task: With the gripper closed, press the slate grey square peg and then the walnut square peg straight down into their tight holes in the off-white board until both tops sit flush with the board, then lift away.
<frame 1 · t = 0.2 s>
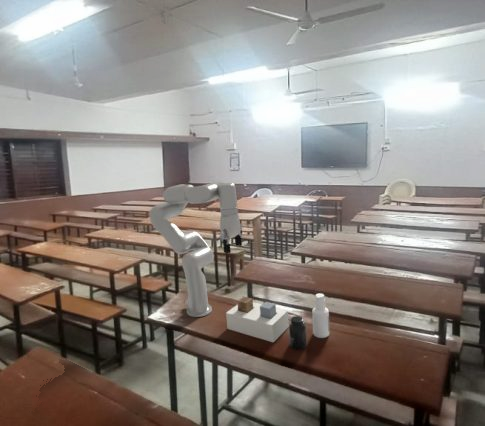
hand: (233, 248, 165), 36 cm above the table, tool pointing down, fingers open, 9 cm apart
peg board: (258, 327, 167), on the table
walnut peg: (245, 306, 169), point 9 cm above the table, slide at 4.5 cm
spray bottle: (321, 334, 158), on the table
slate peg: (268, 311, 162), point 9 cm above the table, slide at 4.5 cm
supplement bottle: (298, 345, 152), on the table
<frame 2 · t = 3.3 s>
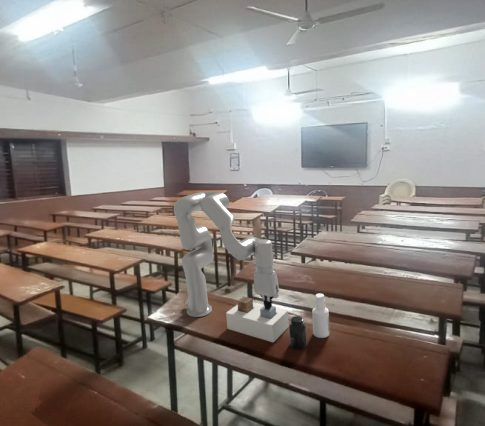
hand: (268, 308, 161), 11 cm above the table, tool pointing down, fingers closed
slate peg: (268, 314, 162), point 8 cm above the table, slide at 3.1 cm, touching gripper
everything else where it was.
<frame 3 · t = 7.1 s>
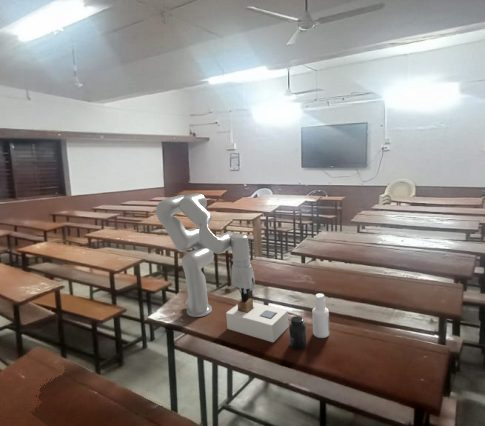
hand: (245, 300, 168), 12 cm above the table, tool pointing down, fingers closed
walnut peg: (245, 306, 169), point 9 cm above the table, slide at 4.3 cm, touching gripper
slate peg: (268, 320, 163), point 5 cm above the table, slide at 0.3 cm
everything else where it was.
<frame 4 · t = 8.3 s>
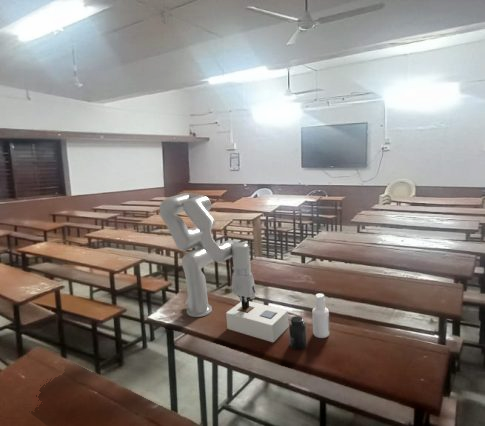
hand: (245, 308, 169), 8 cm above the table, tool pointing down, fingers closed
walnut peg: (246, 314, 169), point 5 cm above the table, slide at 0.3 cm, touching gripper
everything else where it was.
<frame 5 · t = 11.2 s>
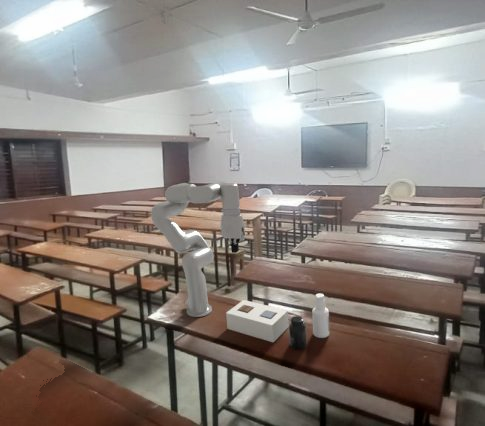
hand: (235, 251, 164), 35 cm above the table, tool pointing down, fingers closed
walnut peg: (246, 314, 169), point 5 cm above the table, slide at 0.3 cm
everything else where it was.
at the end: slate peg slide at 0.3 cm; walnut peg slide at 0.3 cm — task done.
